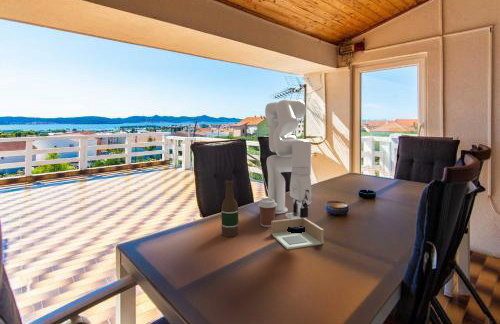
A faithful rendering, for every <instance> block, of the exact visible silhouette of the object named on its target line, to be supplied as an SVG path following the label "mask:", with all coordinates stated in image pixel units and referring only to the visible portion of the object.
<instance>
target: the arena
mask: <svg viewBox="0 0 500 324" xmlns="http://www.w3.org/2000/svg"><path fill="white" fill-rule="evenodd" d="M300 226H304V227H305V232H302V233H291V232H288V231H287V229H288V227H300ZM270 230H271V231H270V235H272V236H273V237H274V239H276V241H278V242H279V243H280V244H281V246H282V247H284V248H285V249H286V250H293V249H300V248H305V247H306V248H307V247H312V246H319V245H324V237H325V236H324V235H325V229H324V228H322V227H321V226H319V225H317V224H316V223H315V222H313V221H311V220H309V219H308V218H307V217H306V218H303V219H294V220H290V219H289V218H287V219H285V218H284V219H277V220H276V219H275V220H274V221H271V228H270Z"/></svg>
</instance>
